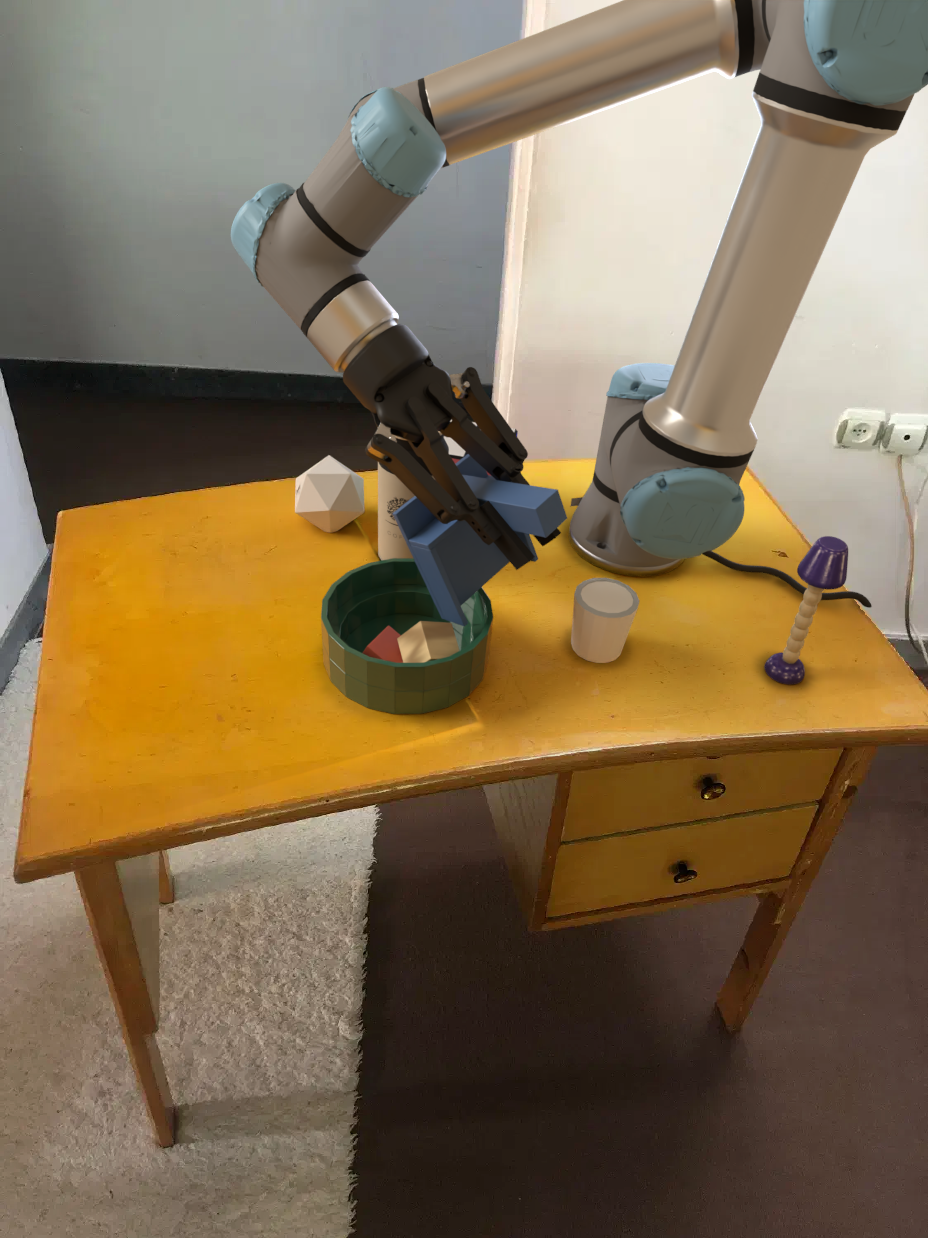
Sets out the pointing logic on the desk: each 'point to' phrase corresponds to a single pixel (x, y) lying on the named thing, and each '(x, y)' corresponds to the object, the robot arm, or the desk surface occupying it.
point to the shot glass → (602, 618)
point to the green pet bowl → (400, 602)
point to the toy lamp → (809, 604)
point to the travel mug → (394, 506)
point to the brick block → (385, 646)
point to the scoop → (474, 537)
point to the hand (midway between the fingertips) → (538, 551)
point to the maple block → (428, 642)
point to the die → (329, 495)
